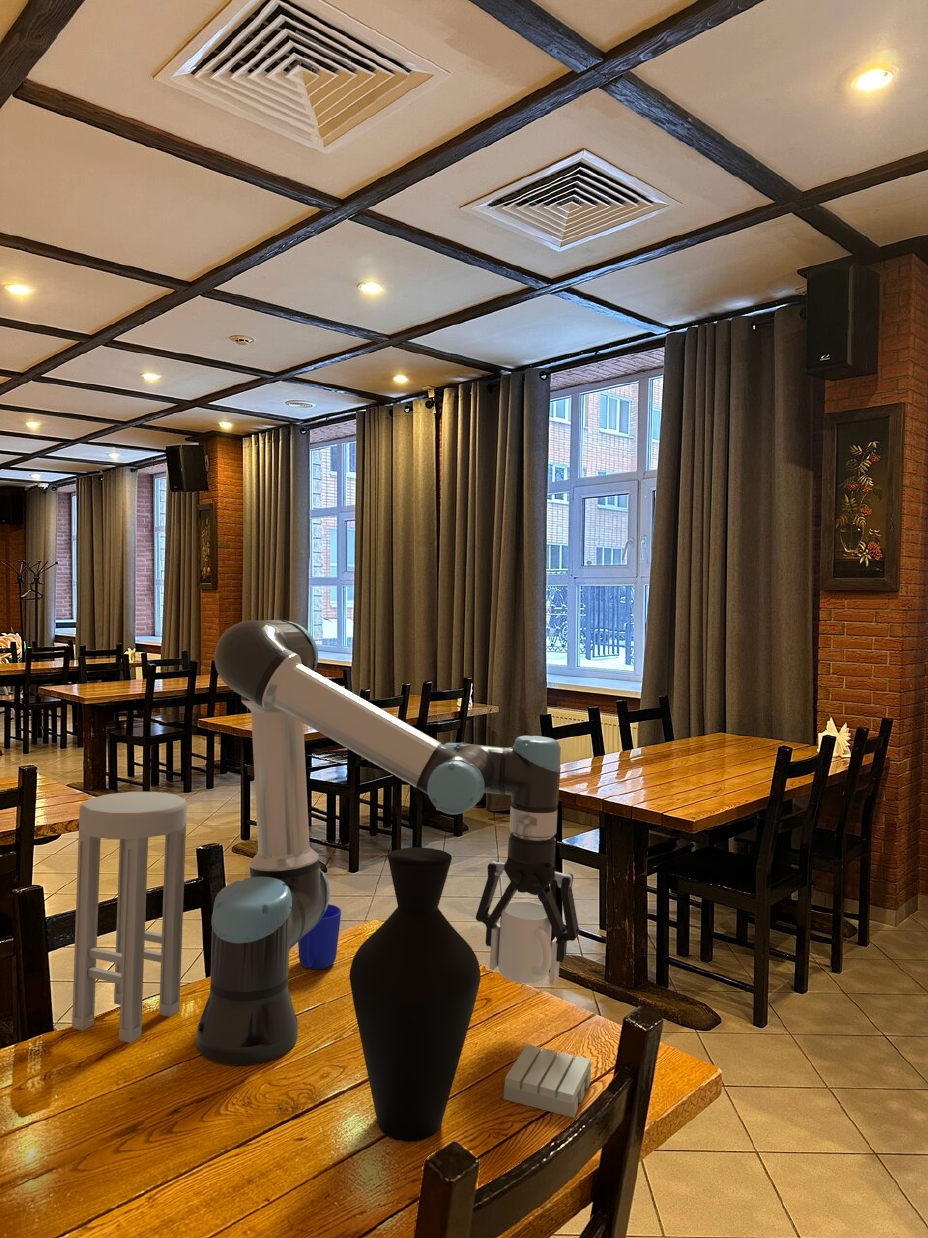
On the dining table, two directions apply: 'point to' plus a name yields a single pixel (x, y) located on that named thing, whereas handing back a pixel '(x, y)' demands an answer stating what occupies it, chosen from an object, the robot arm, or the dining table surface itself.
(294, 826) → the robot arm
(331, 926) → the mug
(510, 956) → the mug
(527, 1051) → the block
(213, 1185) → the dining table surface
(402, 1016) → the vase
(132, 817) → the stool
